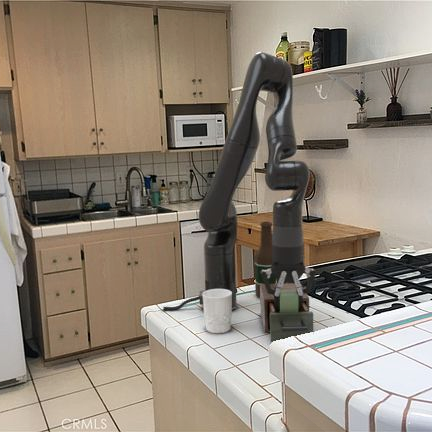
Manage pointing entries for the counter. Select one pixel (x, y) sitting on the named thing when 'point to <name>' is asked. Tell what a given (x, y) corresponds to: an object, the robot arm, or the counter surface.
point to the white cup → (217, 310)
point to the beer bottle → (264, 256)
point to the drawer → (289, 322)
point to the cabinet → (270, 298)
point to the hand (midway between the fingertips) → (288, 309)
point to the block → (288, 301)
